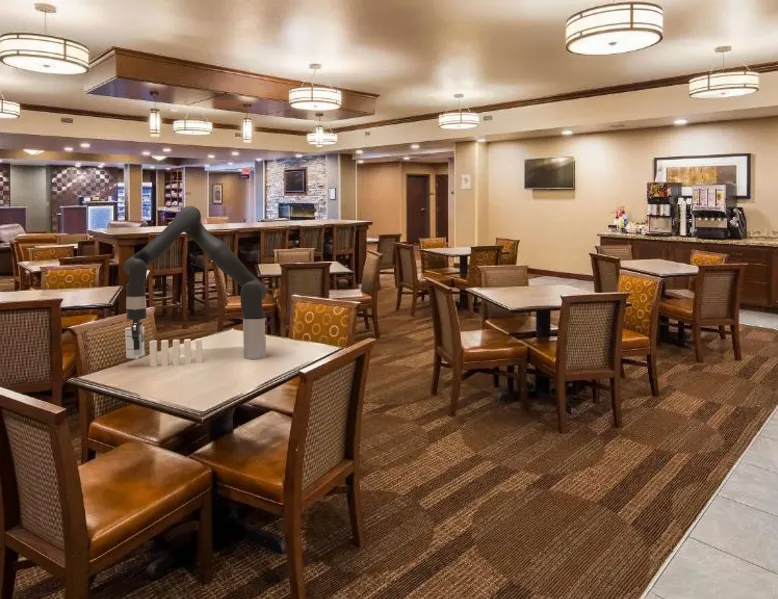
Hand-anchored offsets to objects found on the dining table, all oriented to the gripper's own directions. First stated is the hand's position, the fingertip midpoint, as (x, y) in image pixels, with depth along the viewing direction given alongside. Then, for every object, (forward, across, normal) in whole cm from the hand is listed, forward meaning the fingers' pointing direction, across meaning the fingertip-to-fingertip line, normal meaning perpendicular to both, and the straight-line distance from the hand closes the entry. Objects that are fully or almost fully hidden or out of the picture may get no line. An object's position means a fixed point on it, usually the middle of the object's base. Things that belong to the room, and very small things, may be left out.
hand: (137, 348), depth 244 cm
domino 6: (+7, 0, +24) cm, 25 cm away
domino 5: (+7, 0, +20) cm, 21 cm away
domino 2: (+7, 0, +6) cm, 9 cm away
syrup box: (+8, -16, -3) cm, 18 cm away
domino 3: (+7, 0, +11) cm, 13 cm away
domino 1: (+2, 0, 0) cm, 2 cm away
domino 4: (+7, 0, +15) cm, 17 cm away
